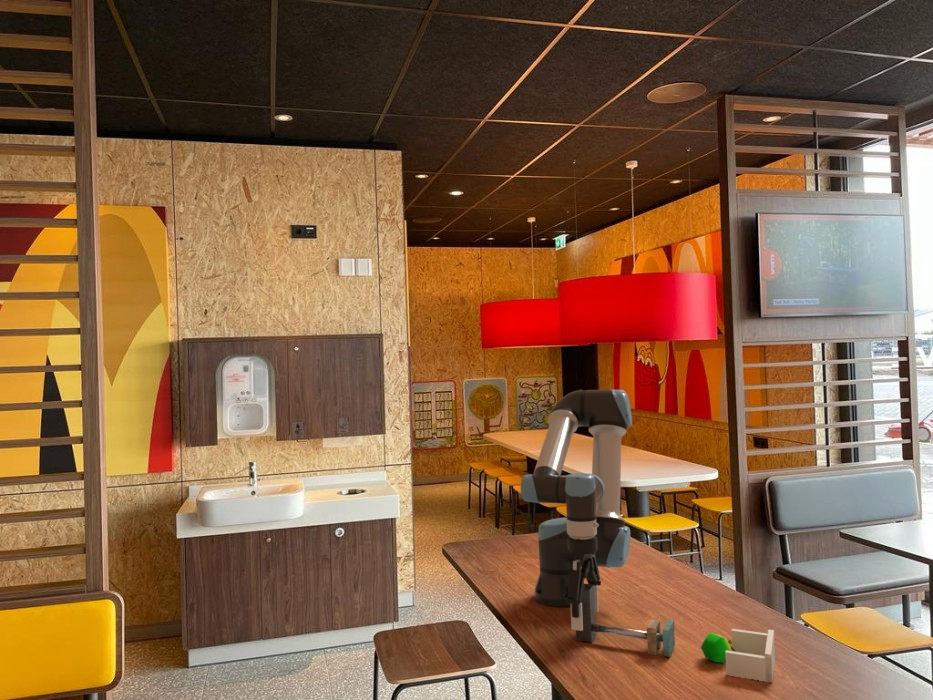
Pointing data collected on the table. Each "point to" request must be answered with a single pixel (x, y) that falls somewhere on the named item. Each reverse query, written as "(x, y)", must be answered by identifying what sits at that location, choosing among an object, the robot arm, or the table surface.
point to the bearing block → (653, 637)
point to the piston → (592, 627)
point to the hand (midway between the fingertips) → (585, 620)
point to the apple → (716, 647)
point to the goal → (751, 655)
